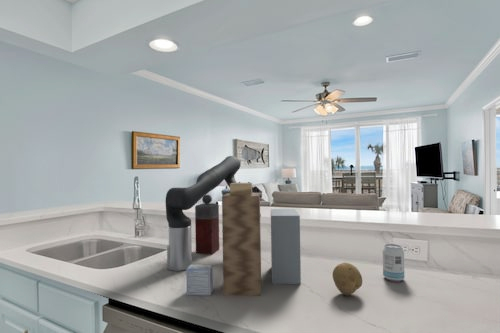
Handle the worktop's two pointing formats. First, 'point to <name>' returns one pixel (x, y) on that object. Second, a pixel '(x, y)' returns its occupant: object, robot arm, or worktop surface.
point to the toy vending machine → (207, 226)
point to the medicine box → (199, 279)
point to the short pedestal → (285, 246)
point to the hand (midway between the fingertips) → (244, 184)
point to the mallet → (240, 189)
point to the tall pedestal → (241, 244)
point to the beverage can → (393, 262)
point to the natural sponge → (347, 278)
